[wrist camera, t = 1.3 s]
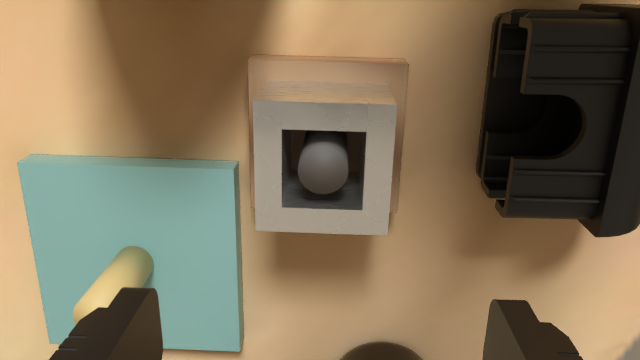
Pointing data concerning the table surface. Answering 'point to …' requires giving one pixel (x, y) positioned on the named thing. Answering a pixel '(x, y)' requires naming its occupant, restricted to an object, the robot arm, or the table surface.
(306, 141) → the stand
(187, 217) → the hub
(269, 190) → the collar
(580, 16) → the end cap
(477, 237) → the table surface
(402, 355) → the supplement bottle
